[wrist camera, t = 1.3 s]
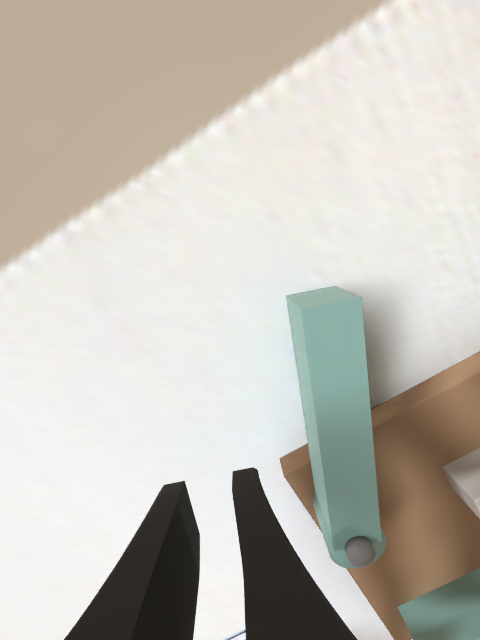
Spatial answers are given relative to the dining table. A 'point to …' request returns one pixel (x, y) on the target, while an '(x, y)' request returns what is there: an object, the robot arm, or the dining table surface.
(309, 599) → the robot arm
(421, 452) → the wooden board
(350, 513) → the folding leg
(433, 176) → the dining table surface
